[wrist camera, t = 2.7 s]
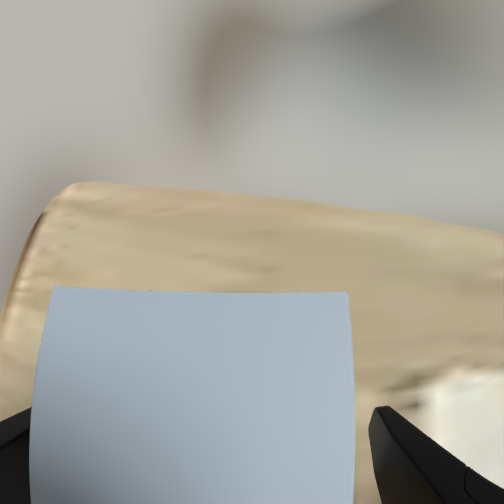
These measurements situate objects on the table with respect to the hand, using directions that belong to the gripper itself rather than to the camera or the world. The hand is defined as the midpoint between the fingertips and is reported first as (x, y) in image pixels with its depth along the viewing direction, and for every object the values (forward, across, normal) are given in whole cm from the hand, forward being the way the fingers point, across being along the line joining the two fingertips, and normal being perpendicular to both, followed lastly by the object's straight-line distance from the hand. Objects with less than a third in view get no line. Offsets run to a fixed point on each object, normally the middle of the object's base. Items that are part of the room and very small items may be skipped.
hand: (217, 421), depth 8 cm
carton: (+5, 0, +6) cm, 8 cm away
